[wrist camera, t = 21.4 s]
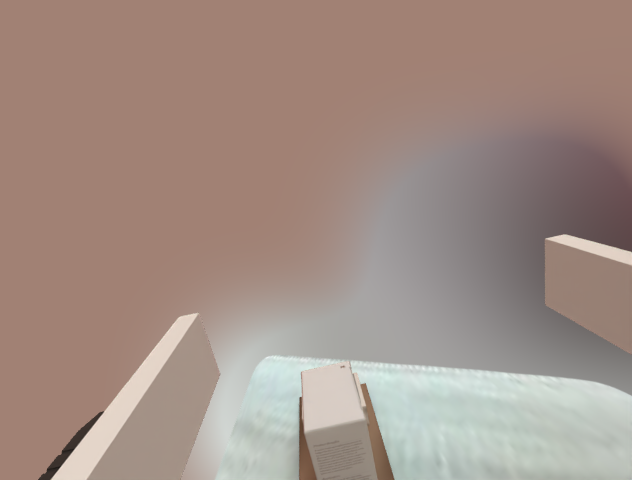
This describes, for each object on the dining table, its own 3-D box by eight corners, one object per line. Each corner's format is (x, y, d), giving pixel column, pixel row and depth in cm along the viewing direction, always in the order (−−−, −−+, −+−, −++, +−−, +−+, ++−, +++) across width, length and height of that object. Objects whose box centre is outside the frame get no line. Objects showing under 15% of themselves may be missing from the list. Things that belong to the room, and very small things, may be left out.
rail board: (366, 388, 44) (362, 364, 43) (440, 638, 21) (434, 600, 20) (301, 402, 44) (294, 379, 43) (302, 668, 21) (288, 631, 20)
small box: (319, 442, 36) (300, 369, 33) (364, 432, 36) (349, 358, 33) (325, 520, 28) (301, 432, 25) (383, 506, 28) (366, 418, 25)
